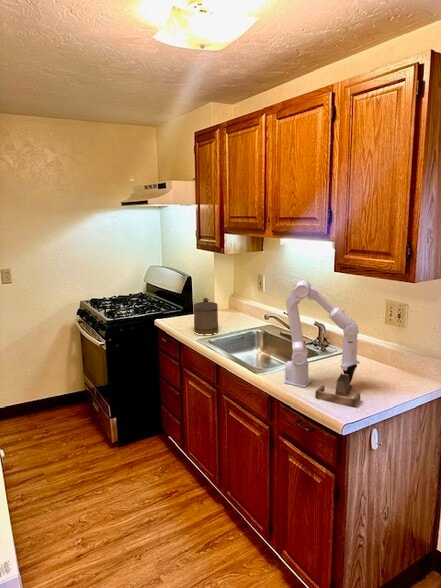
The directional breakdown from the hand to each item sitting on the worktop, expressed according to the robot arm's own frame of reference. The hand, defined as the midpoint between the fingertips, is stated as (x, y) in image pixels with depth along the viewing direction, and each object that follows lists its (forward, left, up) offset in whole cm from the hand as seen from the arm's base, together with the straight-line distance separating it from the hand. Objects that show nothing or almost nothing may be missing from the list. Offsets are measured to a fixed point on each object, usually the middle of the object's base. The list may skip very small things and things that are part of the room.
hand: (348, 381), depth 170 cm
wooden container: (-99, +37, -3) cm, 106 cm away
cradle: (0, -14, -2) cm, 15 cm away
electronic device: (0, -6, -3) cm, 6 cm away
